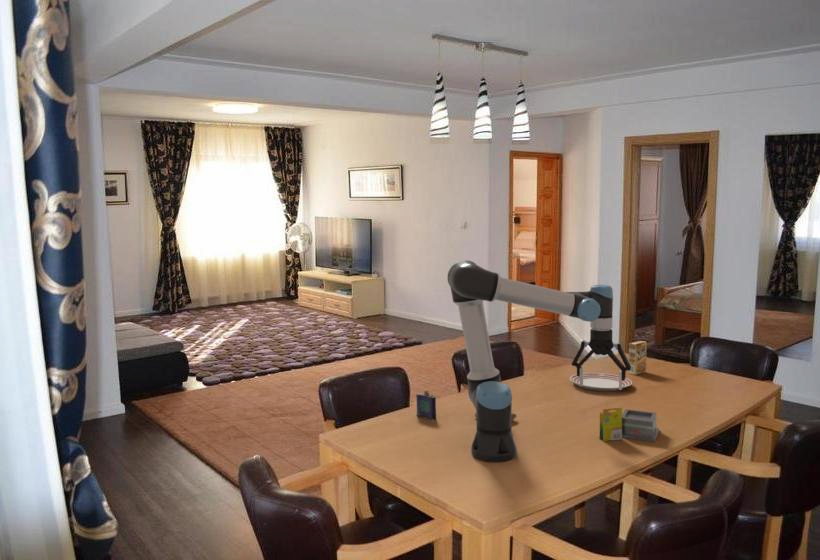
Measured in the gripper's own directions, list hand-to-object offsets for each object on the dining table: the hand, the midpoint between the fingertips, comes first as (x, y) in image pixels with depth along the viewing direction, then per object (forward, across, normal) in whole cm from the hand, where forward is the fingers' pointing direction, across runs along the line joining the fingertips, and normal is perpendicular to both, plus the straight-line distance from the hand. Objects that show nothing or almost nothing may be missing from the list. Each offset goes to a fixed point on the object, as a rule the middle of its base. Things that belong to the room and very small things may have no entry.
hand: (600, 387), depth 231 cm
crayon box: (+18, -4, +2) cm, 19 cm away
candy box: (+19, -2, -95) cm, 97 cm away
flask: (+18, +66, +6) cm, 69 cm away
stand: (+18, -12, -8) cm, 23 cm away
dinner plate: (+19, +10, -65) cm, 68 cm away
